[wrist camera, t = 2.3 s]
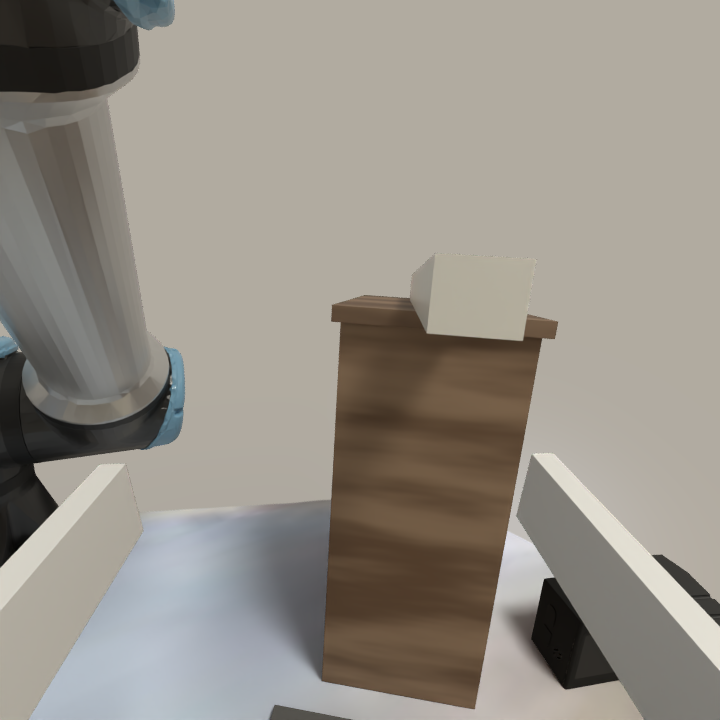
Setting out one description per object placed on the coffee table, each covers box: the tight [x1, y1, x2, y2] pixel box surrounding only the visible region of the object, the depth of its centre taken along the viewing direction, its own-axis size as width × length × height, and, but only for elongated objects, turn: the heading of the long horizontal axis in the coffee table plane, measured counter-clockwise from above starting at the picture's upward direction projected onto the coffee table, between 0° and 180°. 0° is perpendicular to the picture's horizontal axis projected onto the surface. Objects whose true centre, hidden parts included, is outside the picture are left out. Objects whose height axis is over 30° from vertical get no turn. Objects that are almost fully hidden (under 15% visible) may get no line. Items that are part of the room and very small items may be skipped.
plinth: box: [322, 295, 558, 709], centre depth 33 cm, size 19×13×30 cm
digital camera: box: [531, 578, 619, 689], centre depth 30 cm, size 10×5×7 cm, turn 101°
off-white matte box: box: [410, 253, 537, 341], centre depth 23 cm, size 26×3×3 cm, turn 174°
